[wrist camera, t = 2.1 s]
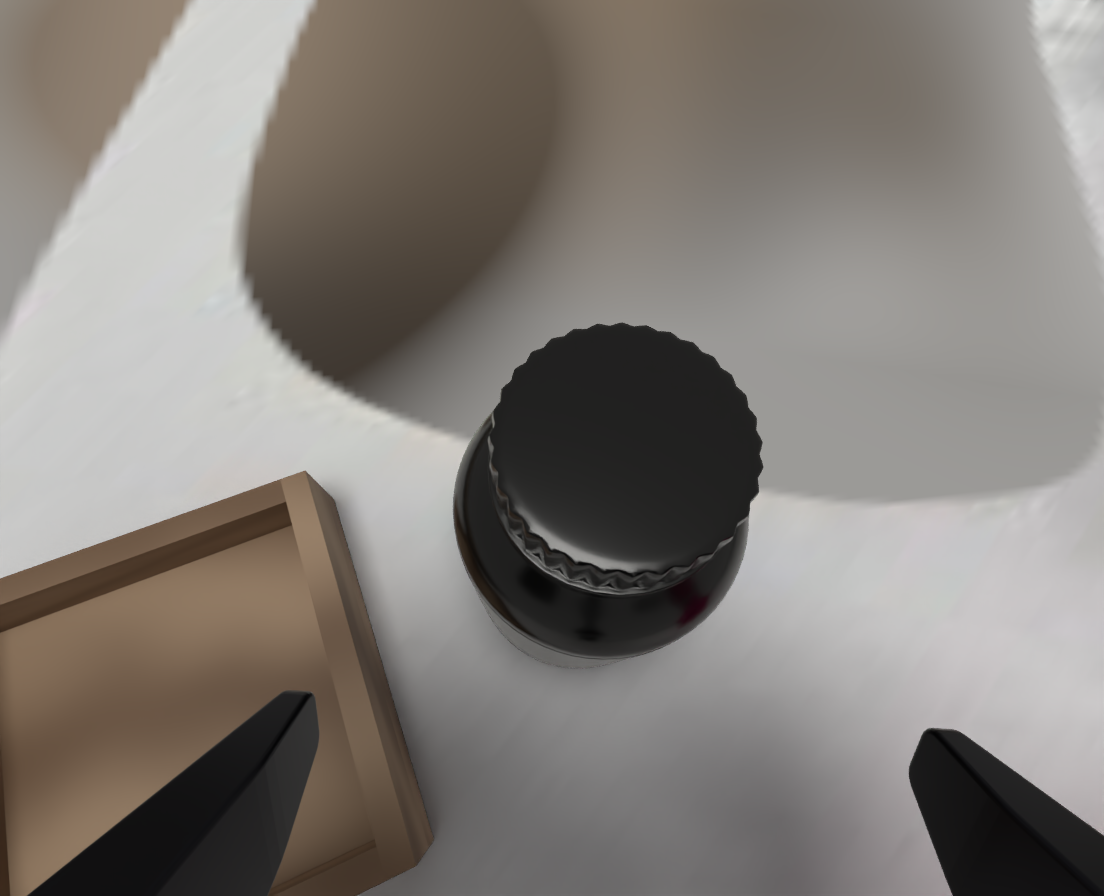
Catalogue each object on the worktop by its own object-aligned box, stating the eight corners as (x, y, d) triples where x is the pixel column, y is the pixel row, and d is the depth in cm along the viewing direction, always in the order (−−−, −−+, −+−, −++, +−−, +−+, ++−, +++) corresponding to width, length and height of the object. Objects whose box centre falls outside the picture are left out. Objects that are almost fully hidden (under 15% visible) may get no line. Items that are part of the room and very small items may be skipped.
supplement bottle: (443, 615, 20) (338, 519, 9) (531, 451, 23) (532, 221, 12) (626, 709, 19) (751, 727, 8) (698, 528, 22) (868, 355, 11)
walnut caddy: (433, 839, 18) (416, 866, 15) (17, 1041, 16) (-93, 1114, 13) (333, 499, 22) (305, 470, 19) (-9, 624, 20) (-97, 612, 17)
